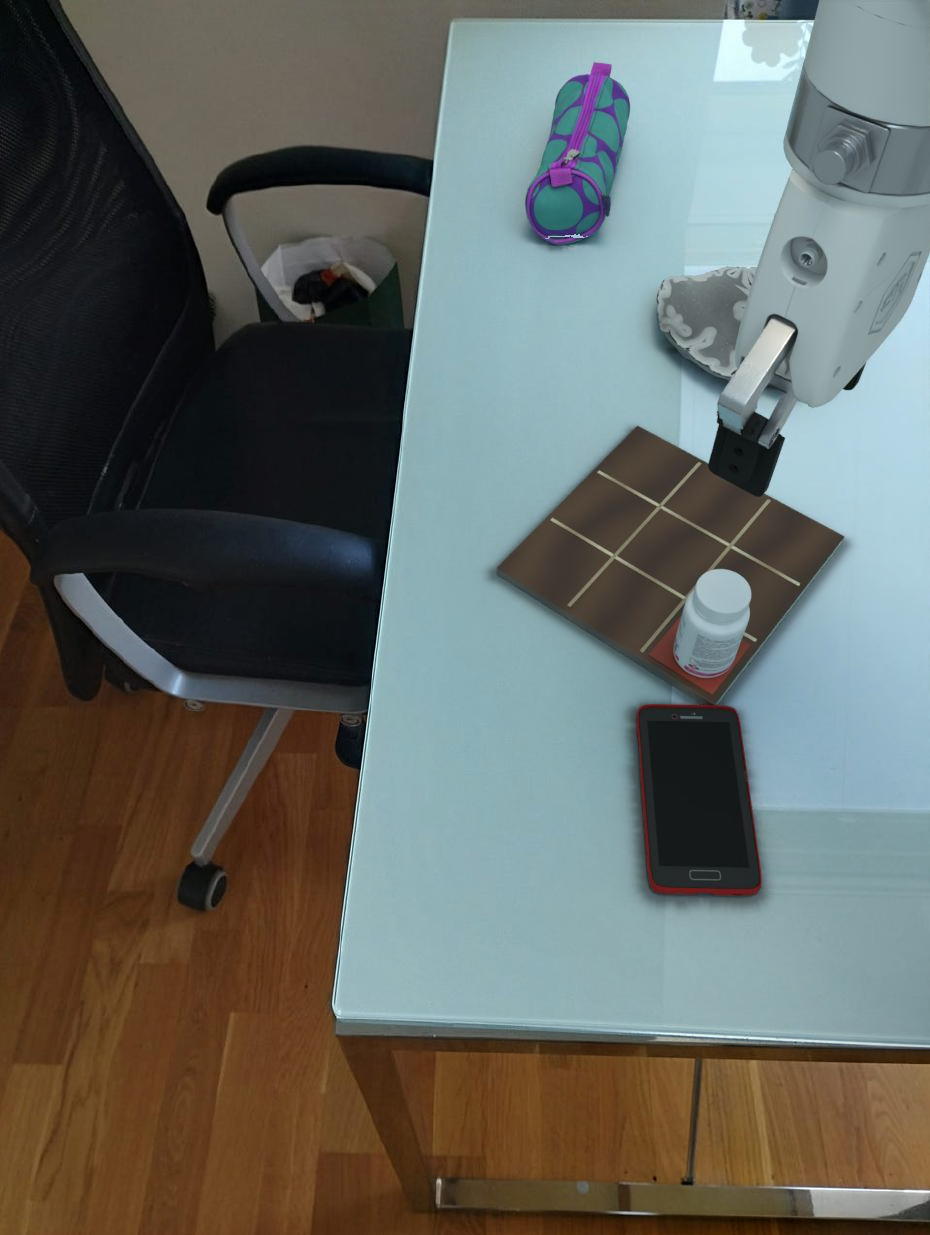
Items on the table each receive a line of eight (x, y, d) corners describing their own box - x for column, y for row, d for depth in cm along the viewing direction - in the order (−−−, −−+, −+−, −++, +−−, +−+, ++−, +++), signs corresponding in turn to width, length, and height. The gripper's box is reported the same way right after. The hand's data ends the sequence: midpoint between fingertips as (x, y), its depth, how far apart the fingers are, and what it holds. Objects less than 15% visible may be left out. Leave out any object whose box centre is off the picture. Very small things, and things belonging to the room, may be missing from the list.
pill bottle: (746, 659, 82) (771, 596, 75) (702, 690, 81) (723, 629, 74) (703, 618, 85) (724, 553, 78) (659, 648, 83) (676, 585, 76)
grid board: (841, 543, 90) (845, 535, 89) (712, 711, 81) (715, 704, 80) (636, 432, 98) (637, 424, 97) (496, 574, 89) (496, 566, 88)
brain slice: (659, 405, 100) (664, 382, 97) (647, 289, 109) (651, 265, 107) (869, 409, 99) (879, 385, 97) (838, 292, 109) (847, 267, 106)
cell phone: (648, 895, 73) (650, 890, 72) (634, 709, 81) (635, 702, 80) (761, 898, 72) (764, 893, 72) (735, 710, 81) (738, 704, 80)
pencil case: (604, 256, 112) (614, 173, 105) (522, 246, 114) (525, 164, 106) (627, 146, 124) (637, 65, 116) (552, 138, 125) (558, 57, 117)
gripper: (874, 265, 37) (763, 563, 51) (1062, 61, 44) (921, 370, 59) (690, 186, 40) (633, 490, 54) (897, 6, 47) (800, 314, 61)
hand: (783, 427), depth 56 cm, fingers open, 9 cm apart
